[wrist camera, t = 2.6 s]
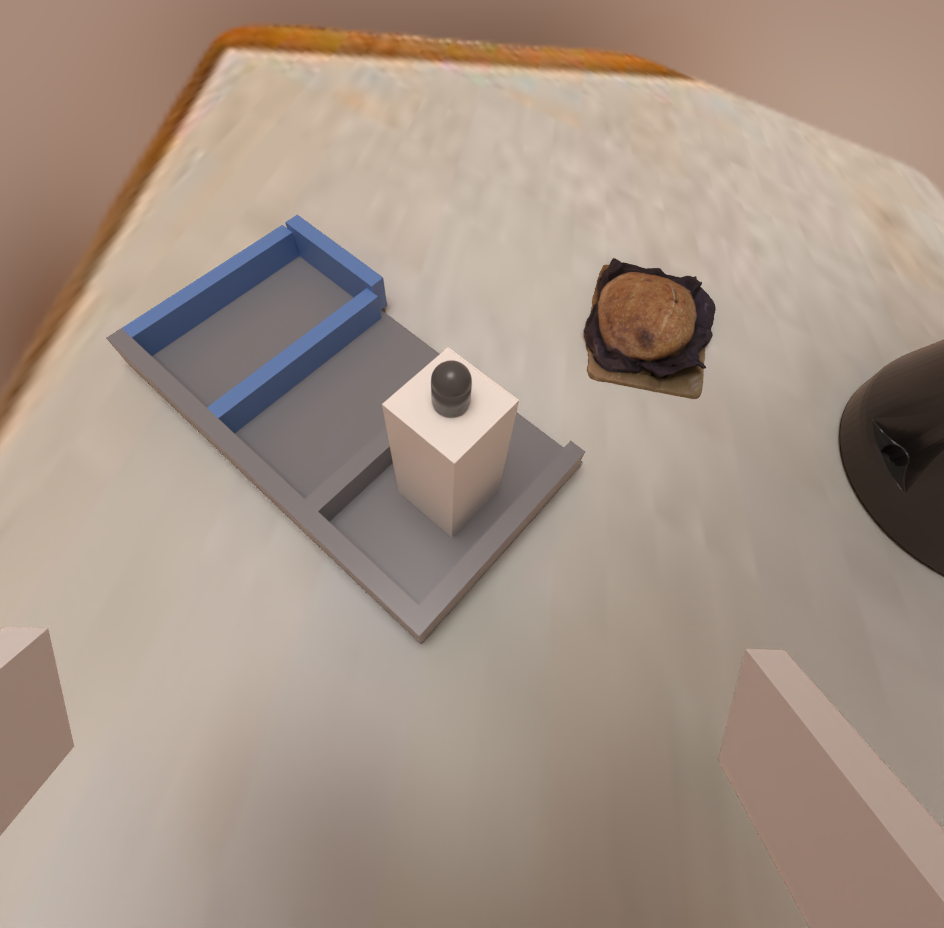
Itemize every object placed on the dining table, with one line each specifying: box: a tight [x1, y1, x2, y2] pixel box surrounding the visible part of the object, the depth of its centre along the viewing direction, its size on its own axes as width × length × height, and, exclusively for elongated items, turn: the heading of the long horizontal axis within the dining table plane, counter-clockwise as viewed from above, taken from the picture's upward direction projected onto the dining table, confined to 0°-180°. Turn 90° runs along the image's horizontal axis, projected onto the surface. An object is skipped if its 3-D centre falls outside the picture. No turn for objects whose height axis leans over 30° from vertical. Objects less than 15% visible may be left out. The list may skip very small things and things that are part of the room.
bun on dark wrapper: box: [584, 258, 715, 399], centre depth 36 cm, size 11×8×4 cm
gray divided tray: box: [107, 215, 585, 644], centre depth 32 cm, size 14×25×3 cm, turn 49°
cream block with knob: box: [382, 348, 519, 538], centre depth 26 cm, size 4×4×11 cm
